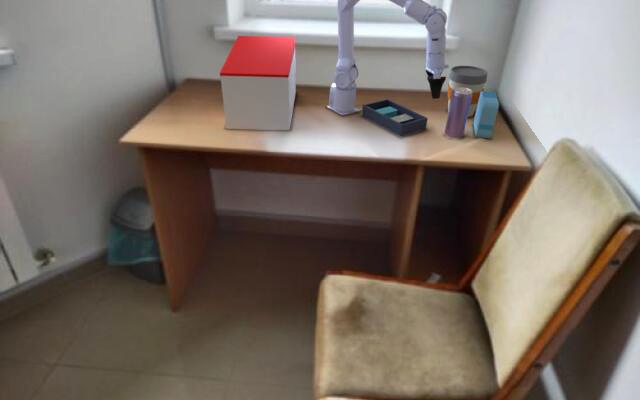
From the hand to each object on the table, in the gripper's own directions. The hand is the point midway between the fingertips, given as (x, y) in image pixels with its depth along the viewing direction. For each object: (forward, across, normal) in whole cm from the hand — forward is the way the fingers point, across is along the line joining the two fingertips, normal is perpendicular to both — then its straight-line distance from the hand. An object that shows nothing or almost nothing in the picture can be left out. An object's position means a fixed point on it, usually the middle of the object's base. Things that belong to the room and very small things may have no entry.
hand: (434, 94), depth 144 cm
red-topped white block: (+2, +2, +59) cm, 59 cm away
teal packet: (+8, +1, +16) cm, 18 cm away
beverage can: (+12, -8, -6) cm, 15 cm away
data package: (+13, -4, -15) cm, 20 cm away
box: (+8, -2, +14) cm, 16 cm away
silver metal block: (+8, -5, +11) cm, 15 cm away
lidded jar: (+12, +12, -10) cm, 20 cm away
